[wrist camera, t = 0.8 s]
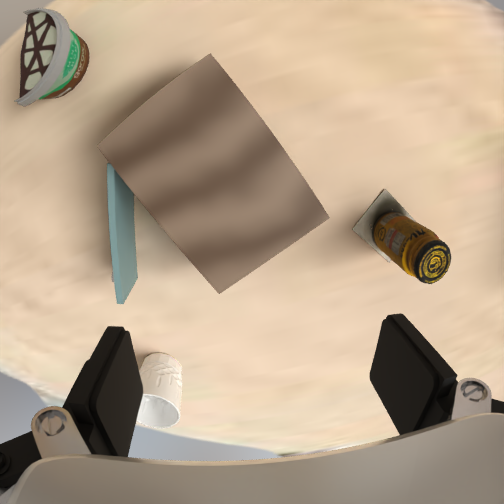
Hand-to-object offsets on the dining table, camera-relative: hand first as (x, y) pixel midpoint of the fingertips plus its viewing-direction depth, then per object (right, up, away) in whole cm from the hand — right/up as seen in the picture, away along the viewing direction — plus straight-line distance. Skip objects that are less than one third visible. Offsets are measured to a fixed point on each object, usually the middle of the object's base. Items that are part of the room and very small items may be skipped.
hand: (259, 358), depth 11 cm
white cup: (-15, -15, +37) cm, 43 cm away
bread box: (-5, +14, +27) cm, 30 cm away
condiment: (+19, +7, +31) cm, 37 cm away
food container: (-23, +29, +20) cm, 42 cm away
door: (-16, +8, +27) cm, 33 cm away
